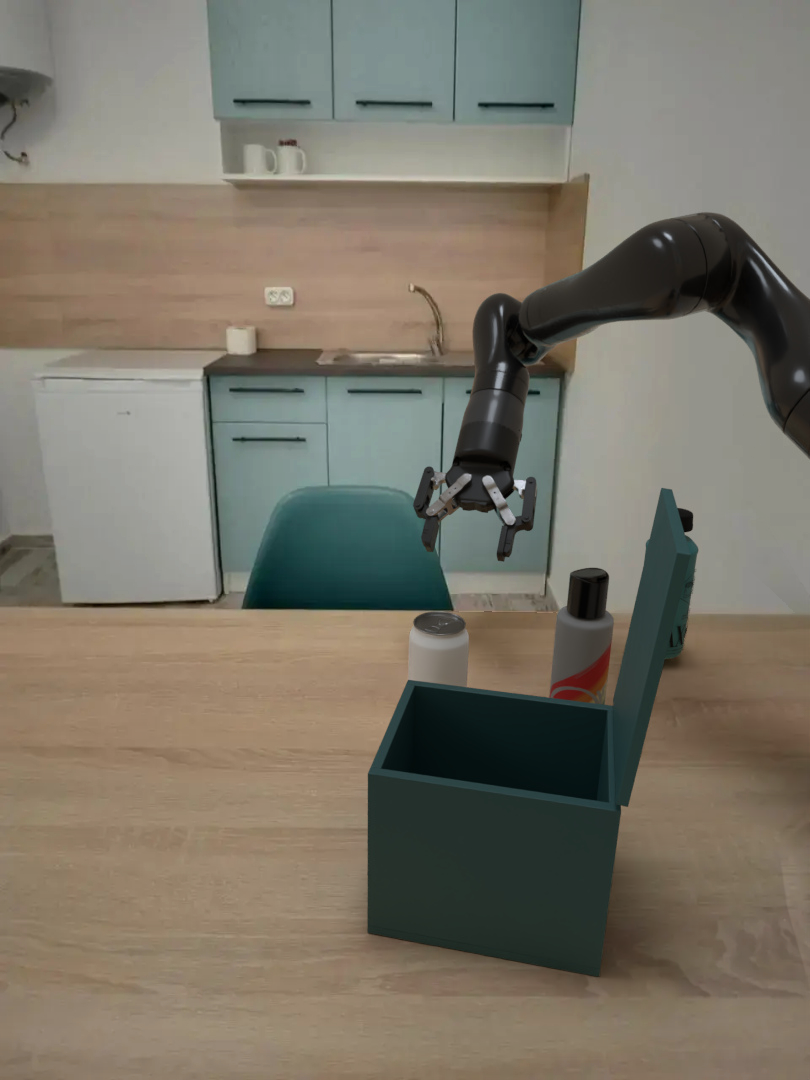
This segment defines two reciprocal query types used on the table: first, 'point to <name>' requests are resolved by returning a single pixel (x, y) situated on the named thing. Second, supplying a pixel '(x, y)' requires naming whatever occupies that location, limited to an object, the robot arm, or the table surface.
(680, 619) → the beverage bottle
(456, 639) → the can
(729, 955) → the table surface
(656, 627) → the lid
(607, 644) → the lotion bottle
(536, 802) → the dark teal storage box
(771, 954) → the table surface
